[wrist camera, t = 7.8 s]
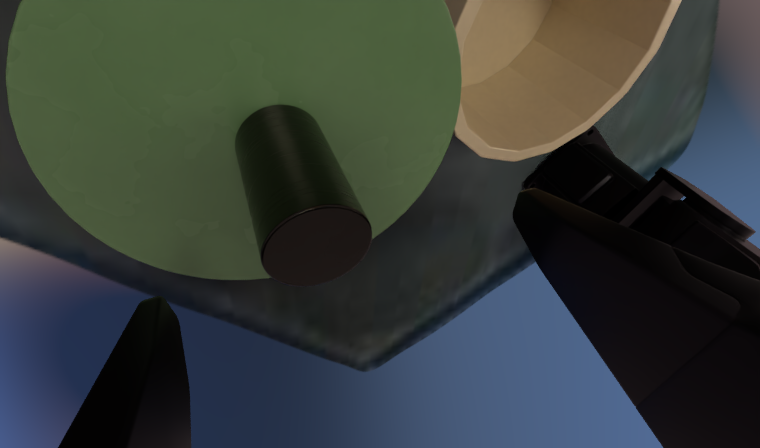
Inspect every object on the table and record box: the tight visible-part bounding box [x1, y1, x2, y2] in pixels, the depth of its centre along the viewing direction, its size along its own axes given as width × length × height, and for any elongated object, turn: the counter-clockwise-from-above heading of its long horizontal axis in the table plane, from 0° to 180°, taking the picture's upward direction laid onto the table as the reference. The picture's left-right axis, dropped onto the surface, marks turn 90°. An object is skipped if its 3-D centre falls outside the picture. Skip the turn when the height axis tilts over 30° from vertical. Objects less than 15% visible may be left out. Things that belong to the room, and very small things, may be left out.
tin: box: [444, 0, 682, 162], centre depth 18 cm, size 10×10×7 cm
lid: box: [5, 0, 462, 287], centre depth 10 cm, size 11×11×5 cm
